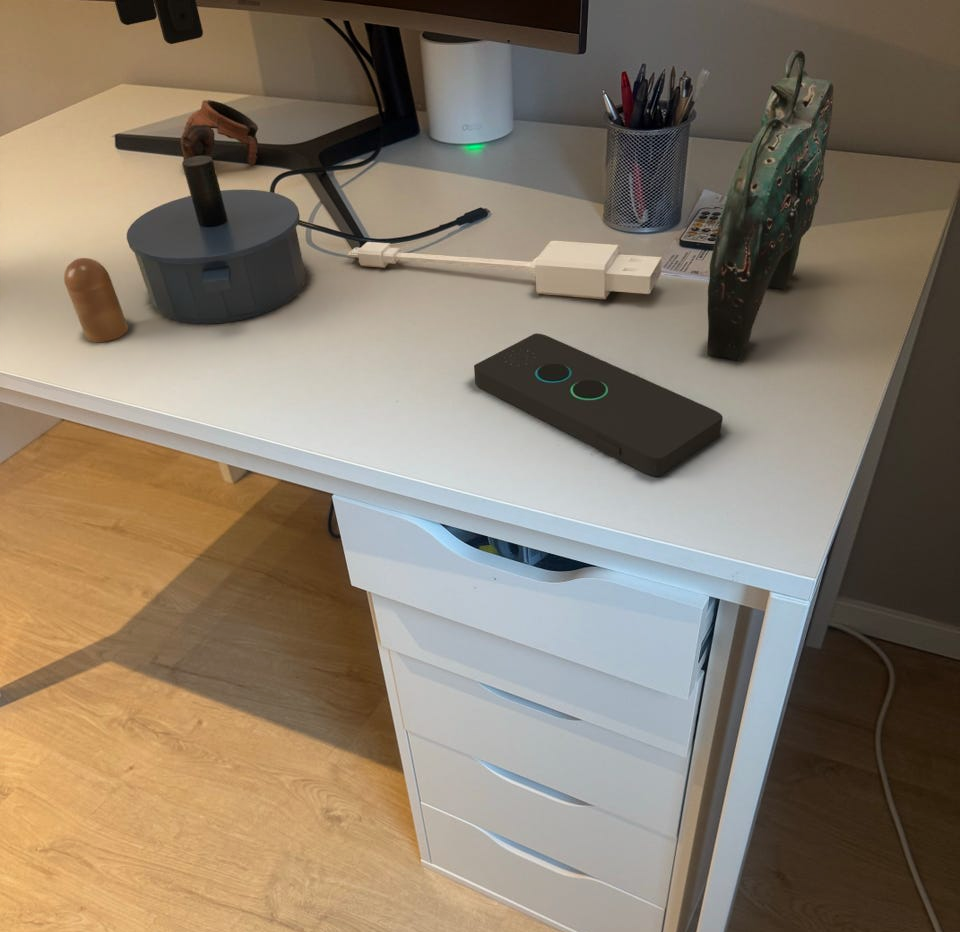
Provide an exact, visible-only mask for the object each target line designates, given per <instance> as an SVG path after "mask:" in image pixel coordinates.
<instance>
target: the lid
mask: <svg viewBox="0 0 960 932" xmlns="http://www.w3.org/2000/svg"><path fill="white" fill-rule="evenodd" d="M181 164H182V165H181V166H182V169H183V173H184V177H185V179H186V184H187V186H188V190H189V194H190V195H188V196H185V197H180V198H178V199H174V200H171V201H168V202H166V203H163V204H161V205H159V206H156V207H154V208H152V209H150V210H148V211H146V212H145V213H143V214H142V215H140V216H139V217H137V218H136V219H135V220H134V221H133V222H132V223H131V224H130V226H129V227H128V229H127V232H126V241H127V243H128V246H129V248H130V250H131V251H132V252H133V253H134V254H135V253H136V254H137V255H138V256H140V257H142V258H145V259H148V260H151V261H155V262H160V263H167V264H204V263H212V262H219V261H225V260H230V259H234V258H239V257H242V256H246V255H249V254H252V253H255V252H258V251H261V250H263V249H265V248H268V247H270V246H272V245H274V244H276V243H278V242H279V241H281V240H283V239H284V238H286V237H287V236H288V235H289V234H291V233H292V232H293V231H294V229H295V228H296V229H297V227H298V225H299V223H300V215H301V214H300V211H299V208H298V205H297V204H296V202H294V201H293V200H292V199H291V198H289V197H287V196H285V195H282V194H279V193H276V192H272V191H268V190H267V191H266V190H258V189H223V190H221V187H220V184H219V179H218V175H217V171H216V167H215V164H214V159H213V158H212V157H211V156H210V157H209V156H195V157H191V158H188V159H186V160H184V161H182V162H181Z"/></svg>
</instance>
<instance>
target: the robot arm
mask: <svg viewBox="0 0 960 932" xmlns="http://www.w3.org/2000/svg"><path fill="white" fill-rule="evenodd" d="M113 1H114V4H115V8H116V12H117V14H118V18H119V21H120V22H121V23H122V24H123V25H126V26H131V25H135V24H140V23H145V22H148V21H154V20H156V19H157V18H158V22H159V26H160V29H161V33H162V37H163V40H164V42H165V43H167V44H169V45H174V44H179V43H183V42H187V41H192V40H196V39H200V38H202V37H203V35H204V30H203V26H202V22H201V18H200V14H199V9H198V6H197V1H196V0H113Z"/></svg>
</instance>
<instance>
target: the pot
mask: <svg viewBox="0 0 960 932" xmlns="http://www.w3.org/2000/svg"><path fill="white" fill-rule="evenodd" d="M299 241H300V240H299V236H298V231H297V227H296V228H295V229H294V231H293V232H292V233H291V234H289V235H288V236H287V237H286V238H284V239H283V240H281V241H279V242H278V243H276V244H274V245H272V246H270V247H268V248H265V249H263V250H261V251H258V252H255V253H252V254H249V255H246V256H242V257H239V258H234V259H230V260H225V261H219V262H212V263H204V264H167V263H160V262H155V261H151V260H148V259H145V258H142V257H140V256H138V255H137V254H136V253H134V256H135V259H136V261H137V265H138V267H139V271H140V273H141V277H142V279H143V283H144V284H145V285H144V286H145V288H146V292H147V294H148V297H149V300H150V302H151V303H152V305H153V307H154V309H155V310H156V311H157V312H158V313H159V314H161V315H162V316H164V317H166V318H168V319H171V320H174V321H178V322H181V323H182V322H183V323H189V324H200V325H203V324H204V325H205V324H206V325H207V324H211V325H212V324H222V323H231V322H236V321H237V322H238V321H242V320H247V319H250V318H253V317H257V316H260V315H263V314H266V313H268V312H271V311H274V310H276V309H277V308H280V307H281V306H283V305H285V304H286V303H288V302H290V301H291V300H292V299H294V298H295V297H296V296H298V294H299V293H300V292H301V291H302V289H303V287H304V285H305V283H306V272H305V265H304V261H303V255H302V249H301V246H300V242H299Z"/></svg>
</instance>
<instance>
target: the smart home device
mask: <svg viewBox="0 0 960 932" xmlns="http://www.w3.org/2000/svg"><path fill="white" fill-rule="evenodd" d="M473 372H474V383H475V385H476V386H477V387H478V388H480V389H481V390H484V391H485V392H487V393H489V394H491V395H493V396H495V397H496V398H498V399H500V400H502V401H505V402H507V403H508V404H510V405H512V406H514V407H516V408H518V409H520V410H522V411H524V412H525V413H528V414H530V415H531V416H533V417H536V418H537V419H539V420H541V421H543V422H545V423H547V424H549V425H550V426H553V427H554V428H557V429H559V430H560V431H562V432H564V433H567V434H568V435H570V436H572V437H574V438H576V439H578V440H580V441H581V442H584V443H586V444H588V445H590V446H592V447H593V448H595V449H597V450H599V451H601V452H603V453H605V454H607V455H608V456H611V457H613V458H614V459H617V460H619V461H621V462H622V463H624V464H627V465H628V466H630V467H632V468H634V469H636V470H637V471H640V472H642V473H644V474H646V475H649V476H652V477H661V476H663V475H664V474H665V473H667V472H668V471H670V470H671V469H673V468H674V467H676V466H677V465H679V464H680V463H682V462H683V461H684V460H686V459H688V458H690V456H692V455H693V454H695V453H696V452H698V451H699V450H701V449H702V448H704V447H705V446H707V445H708V444H709V443H711V442H712V441H714V440H716V439H717V438H719V437H720V436H721V431H722V426H723V425H722V424H723V414H721V413H720V412H719V411H717V410H715V409H713V408H711V407H708V406H706V405H704V404H702V403H699V402H697V401H695V400H692V399H690V398H688V397H686V396H683V395H681V394H679V393H676V392H675V391H672V390H670V389H668V388H666V387H663V386H661V385H659V384H657V383H654V382H653V381H649V380H648V379H646V378H644V377H641V376H639V375H636V374H634V373H632V372H629V371H627V370H626V369H623V368H621V367H618V366H616V365H613V364H612V363H609V362H607V361H604V360H603V359H600V358H598V357H597V356H594V355H591V354H590V353H588V352H585V351H582V350H580V349H578V348H576V347H574V346H572V345H569V344H567V343H565V342H563V341H560V340H557V339H556V338H553V337H550V336H549V335H546V334H543V333H538V332H537V333H533V334H531V335H529V336H527V337H525V338H523V339H522V340H520V341H517V342H516V343H514V344H512V345H510V346H508V347H506V348H504V349H502V350H500V351H498V352H496V353H494V354H492V355H491V356H489V357H487V358H485V359H483V360H481V361H479V362H477V363H475V364H474V365H473Z"/></svg>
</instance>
